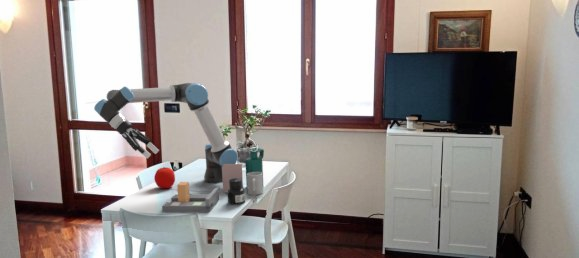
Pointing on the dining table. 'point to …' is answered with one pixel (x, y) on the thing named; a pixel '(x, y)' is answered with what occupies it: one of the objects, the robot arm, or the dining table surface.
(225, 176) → the greeting card
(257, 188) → the mug
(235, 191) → the ink bottle
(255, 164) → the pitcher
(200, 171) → the dining table surface
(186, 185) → the lever
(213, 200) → the breaker housing
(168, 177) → the tomato
